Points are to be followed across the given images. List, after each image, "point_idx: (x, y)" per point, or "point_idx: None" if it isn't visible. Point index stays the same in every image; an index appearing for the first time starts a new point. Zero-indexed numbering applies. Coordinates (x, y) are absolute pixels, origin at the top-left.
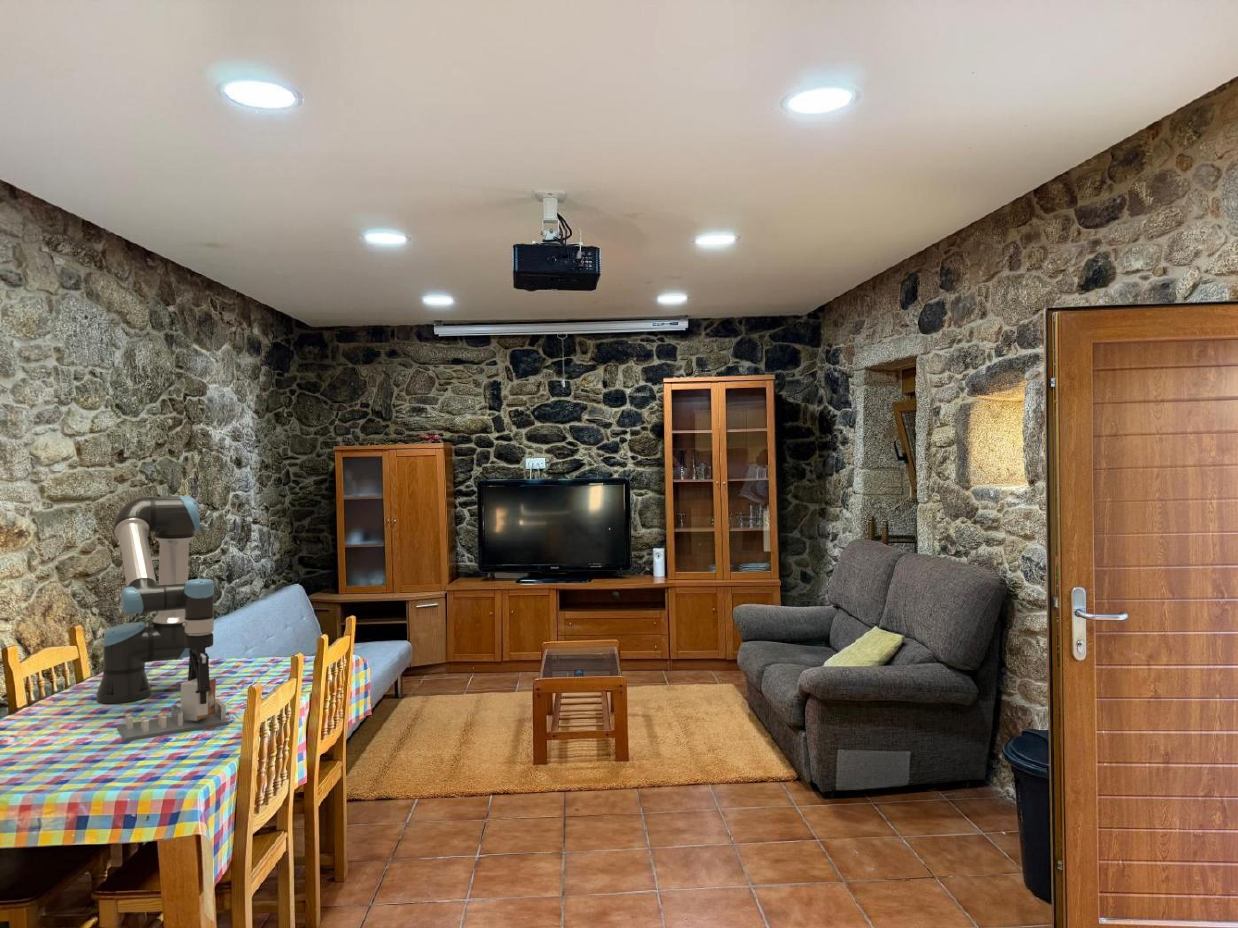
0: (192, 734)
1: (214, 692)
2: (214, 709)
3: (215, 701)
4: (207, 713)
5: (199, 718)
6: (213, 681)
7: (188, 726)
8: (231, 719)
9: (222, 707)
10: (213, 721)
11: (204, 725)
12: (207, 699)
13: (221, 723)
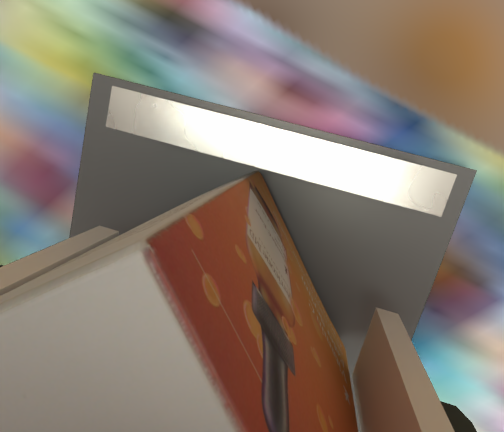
0: (469, 416)
1: (230, 210)
2: (257, 180)
3: (196, 150)
4: (398, 317)
5: (335, 330)
6: (201, 289)
7: (354, 394)
8: (350, 82)
9: (442, 203)
10: (380, 240)
11: (415, 322)
12: (435, 397)
13: (453, 216)
